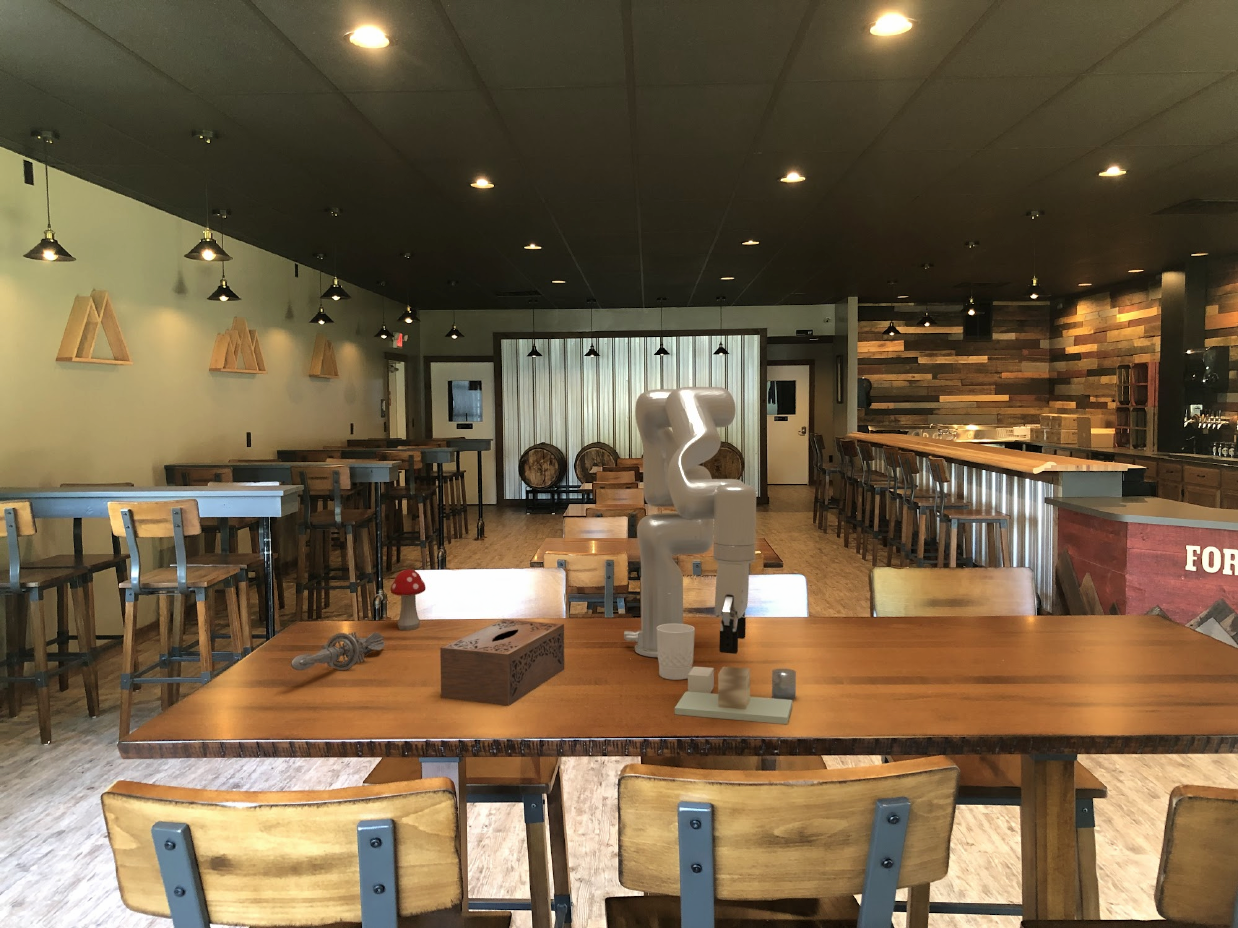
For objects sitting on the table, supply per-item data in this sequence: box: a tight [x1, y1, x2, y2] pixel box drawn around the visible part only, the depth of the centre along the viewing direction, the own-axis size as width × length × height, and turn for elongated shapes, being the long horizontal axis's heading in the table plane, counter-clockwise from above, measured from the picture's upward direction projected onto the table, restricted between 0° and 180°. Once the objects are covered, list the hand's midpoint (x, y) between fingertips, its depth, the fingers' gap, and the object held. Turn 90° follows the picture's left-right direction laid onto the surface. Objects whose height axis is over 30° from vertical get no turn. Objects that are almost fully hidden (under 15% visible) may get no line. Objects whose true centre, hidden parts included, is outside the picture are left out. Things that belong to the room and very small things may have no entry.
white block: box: [687, 666, 715, 693], centre depth 174 cm, size 4×6×4 cm, turn 164°
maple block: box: [717, 666, 751, 709], centre depth 162 cm, size 5×5×6 cm
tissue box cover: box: [439, 618, 565, 707], centre depth 179 cm, size 26×14×10 cm, turn 160°
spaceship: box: [290, 631, 386, 671], centre depth 189 cm, size 8×35×8 cm
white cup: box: [657, 623, 695, 681], centre depth 184 cm, size 8×8×10 cm
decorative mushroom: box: [390, 568, 426, 631], centre depth 227 cm, size 10×9×15 cm
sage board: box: [674, 690, 793, 725], centre depth 162 cm, size 20×10×1 cm, turn 74°
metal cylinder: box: [771, 668, 797, 702], centre depth 169 cm, size 4×4×5 cm
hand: (732, 645), depth 162 cm, fingers open, 9 cm apart
